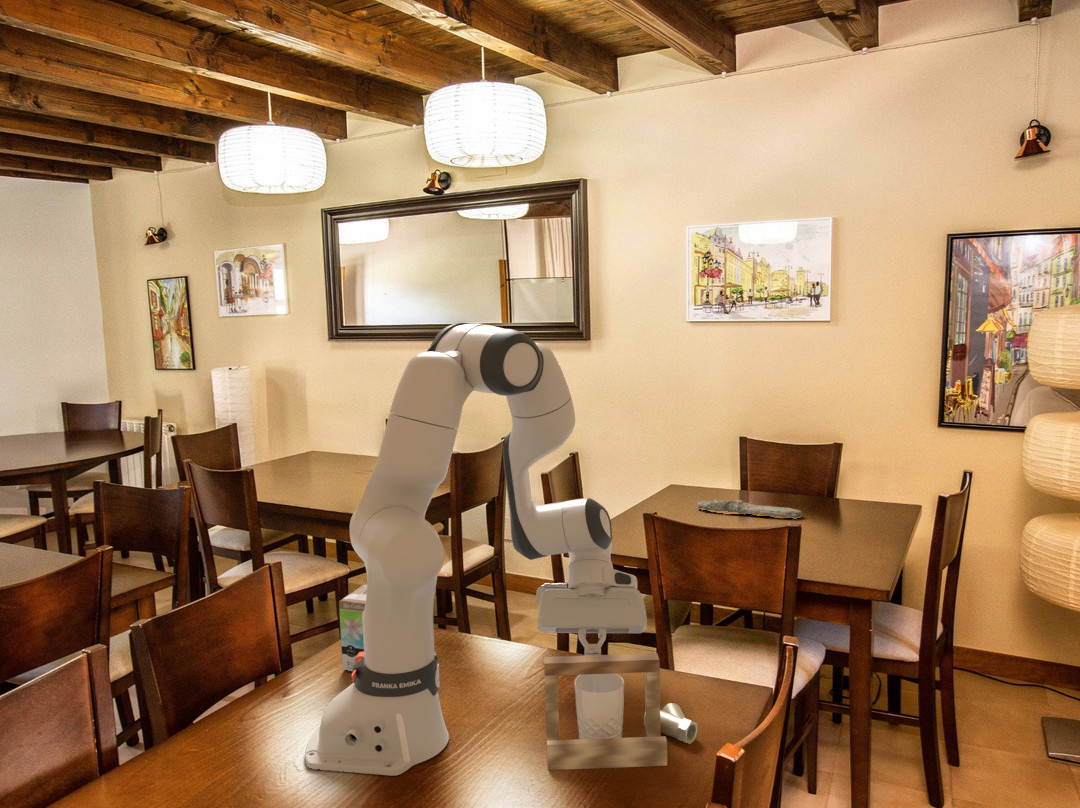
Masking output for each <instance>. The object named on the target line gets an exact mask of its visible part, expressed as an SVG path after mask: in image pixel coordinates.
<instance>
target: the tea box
mask: <svg viewBox="0 0 1080 808" xmlns="http://www.w3.org/2000/svg"><path fill="white" fill-rule="evenodd" d="M366 594H367V583H366V584H362V585H361V586H360V587H358V588H357V589H355V590H353V591H352V592H351V593H350V594H347V595H346V596H345V597H343V598H342V599H341V600H339V601H338V606H339V607H338V608H339V627H340V643H341V644H340V647H341V662H342V664H341V665H342V670H348V671H347V672H353V667H354V665H355V658H356V657H357V655H358V653H359V652H364V640H363V622H362V614H363V611H364V609H365V603H366Z"/></svg>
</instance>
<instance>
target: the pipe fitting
mask: <svg viewBox="0 0 1080 808" xmlns="http://www.w3.org/2000/svg"><path fill="white" fill-rule="evenodd" d="M660 723H661V734H664V735H666V736H668V737H670V738H674V739H676V740H677V741H680V742H682V741H683V743H685V744H687V743H688V744H687V745H691V744H692V743H691V742H693V743H694V742H695V740H696V737H697V735H698V723H697V722H695V721H693V720H691V719H688V718H686V717H685V714H684V713H683V711H682V708H681V706H680V705H679V704H677V703H674V702H673V703H672V702H670V703H667V704H666V705H664V707H662V709H661V708H660ZM643 725H644V727H645V728H646V711H645V712H644V715H643Z"/></svg>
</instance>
